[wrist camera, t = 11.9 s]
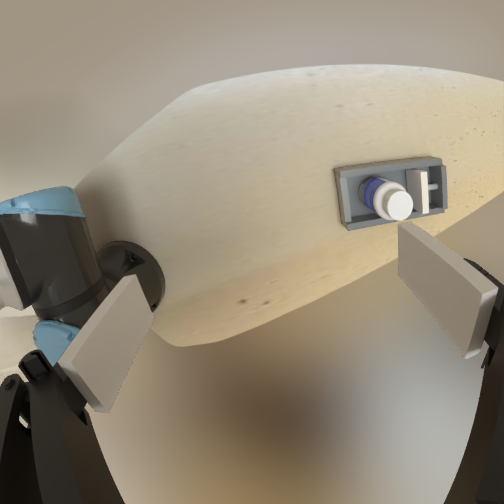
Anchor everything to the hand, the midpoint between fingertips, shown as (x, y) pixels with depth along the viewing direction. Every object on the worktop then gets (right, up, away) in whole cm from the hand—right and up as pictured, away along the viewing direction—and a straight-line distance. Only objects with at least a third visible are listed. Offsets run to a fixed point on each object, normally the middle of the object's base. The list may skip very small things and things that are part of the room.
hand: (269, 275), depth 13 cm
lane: (+21, +12, +29) cm, 38 cm away
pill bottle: (+18, +11, +28) cm, 35 cm away
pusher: (+27, +12, +27) cm, 40 cm away
